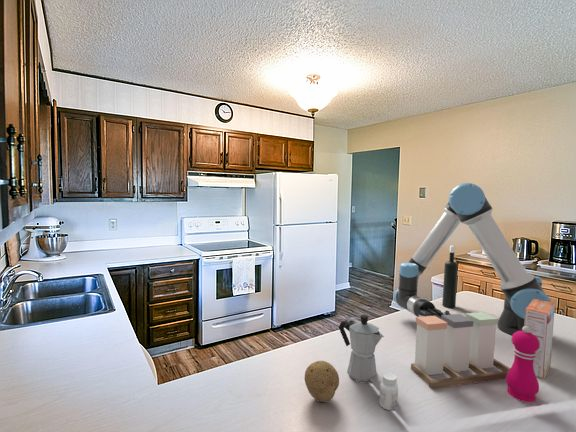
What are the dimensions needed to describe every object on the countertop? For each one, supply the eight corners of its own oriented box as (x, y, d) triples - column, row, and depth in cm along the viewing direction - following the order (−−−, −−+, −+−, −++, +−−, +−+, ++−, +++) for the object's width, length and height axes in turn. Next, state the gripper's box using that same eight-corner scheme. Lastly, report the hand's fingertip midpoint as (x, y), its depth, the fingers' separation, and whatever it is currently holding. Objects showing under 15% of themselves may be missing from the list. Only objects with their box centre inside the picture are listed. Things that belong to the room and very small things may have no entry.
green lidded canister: (462, 360, 105) (465, 313, 103) (480, 358, 106) (483, 312, 105) (476, 369, 99) (480, 320, 98) (494, 367, 101) (498, 318, 100)
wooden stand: (401, 369, 101) (401, 359, 101) (484, 359, 108) (485, 350, 108) (428, 394, 88) (429, 384, 88) (521, 382, 96) (522, 372, 95)
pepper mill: (526, 392, 91) (532, 321, 89) (544, 409, 84) (550, 333, 82) (499, 389, 91) (504, 320, 90) (514, 406, 84) (520, 331, 83)
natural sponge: (317, 384, 92) (318, 350, 91) (345, 397, 86) (346, 361, 85) (297, 399, 85) (298, 362, 84) (326, 415, 79) (327, 375, 78)
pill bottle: (397, 402, 85) (398, 373, 84) (397, 412, 81) (398, 382, 80) (379, 398, 86) (381, 370, 86) (378, 408, 82) (380, 378, 82)
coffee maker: (388, 377, 96) (391, 317, 95) (374, 390, 90) (377, 326, 89) (345, 359, 106) (347, 304, 105) (329, 369, 100) (331, 311, 99)
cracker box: (528, 359, 109) (533, 297, 108) (551, 366, 105) (556, 302, 104) (519, 374, 100) (524, 307, 98) (543, 383, 95) (549, 313, 94)
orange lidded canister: (413, 366, 100) (415, 317, 99) (431, 364, 102) (434, 315, 101) (424, 376, 95) (427, 324, 94) (444, 373, 97) (447, 322, 95)
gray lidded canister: (438, 363, 103) (441, 315, 101) (456, 361, 104) (459, 313, 103) (451, 373, 97) (454, 322, 96) (470, 370, 99) (473, 320, 98)
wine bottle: (453, 304, 162) (457, 244, 160) (456, 308, 156) (460, 246, 154) (441, 303, 163) (444, 244, 161) (443, 307, 158) (447, 245, 156)
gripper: (435, 316, 132) (482, 342, 109) (406, 318, 129) (448, 345, 106) (436, 298, 131) (483, 320, 108) (407, 299, 128) (449, 323, 105)
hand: (466, 333), depth 107 cm, fingers closed
